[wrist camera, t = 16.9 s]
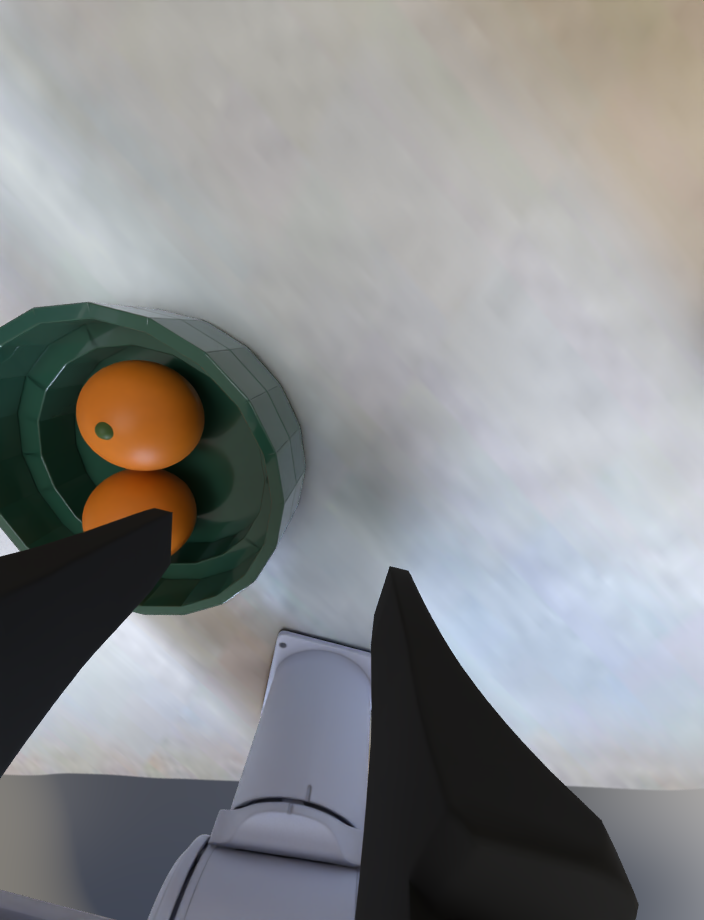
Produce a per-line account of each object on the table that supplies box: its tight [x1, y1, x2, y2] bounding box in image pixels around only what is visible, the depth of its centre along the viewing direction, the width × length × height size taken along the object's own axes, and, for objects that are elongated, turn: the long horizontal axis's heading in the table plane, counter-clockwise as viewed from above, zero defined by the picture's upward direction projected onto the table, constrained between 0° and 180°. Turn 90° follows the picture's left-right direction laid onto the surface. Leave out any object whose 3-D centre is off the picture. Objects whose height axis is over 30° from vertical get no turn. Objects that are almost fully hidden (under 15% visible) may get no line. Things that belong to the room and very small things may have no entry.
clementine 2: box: [82, 469, 197, 555], centre depth 18 cm, size 5×5×6 cm
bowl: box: [0, 302, 306, 615], centre depth 18 cm, size 15×15×5 cm
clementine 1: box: [76, 360, 205, 471], centre depth 16 cm, size 5×5×5 cm
